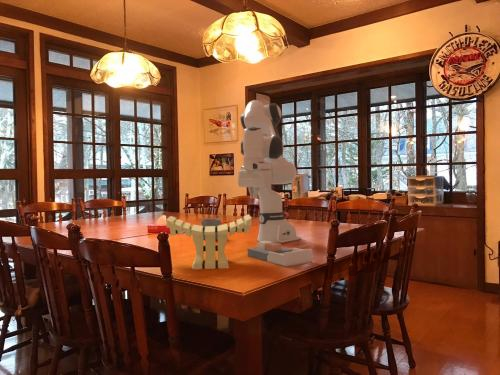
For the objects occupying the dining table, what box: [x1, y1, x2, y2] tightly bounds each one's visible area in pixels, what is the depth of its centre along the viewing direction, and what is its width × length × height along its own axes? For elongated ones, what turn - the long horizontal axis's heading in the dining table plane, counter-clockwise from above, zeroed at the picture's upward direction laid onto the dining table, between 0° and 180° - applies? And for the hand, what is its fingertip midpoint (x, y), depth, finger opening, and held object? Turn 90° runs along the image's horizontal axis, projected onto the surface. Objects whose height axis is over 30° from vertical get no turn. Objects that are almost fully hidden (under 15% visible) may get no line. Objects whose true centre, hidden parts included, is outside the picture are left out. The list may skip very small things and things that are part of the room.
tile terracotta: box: [266, 242, 283, 252], centre depth 162 cm, size 4×4×2 cm
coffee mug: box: [200, 217, 222, 241], centre depth 213 cm, size 13×10×10 cm
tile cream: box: [257, 241, 274, 250], centre depth 167 cm, size 4×4×2 cm
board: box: [247, 246, 293, 262], centre depth 164 cm, size 13×13×3 cm
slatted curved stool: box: [166, 214, 252, 270], centre depth 152 cm, size 30×16×18 cm, turn 95°
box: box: [266, 247, 313, 268], centre depth 154 cm, size 13×11×5 cm
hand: (253, 198), depth 173 cm, fingers closed
